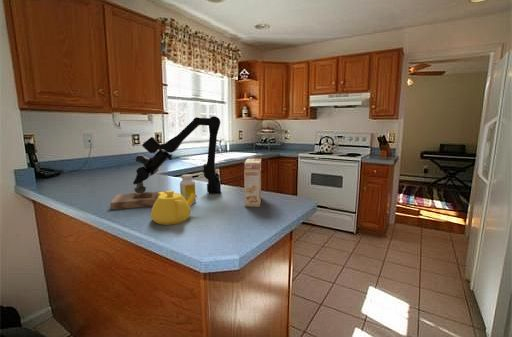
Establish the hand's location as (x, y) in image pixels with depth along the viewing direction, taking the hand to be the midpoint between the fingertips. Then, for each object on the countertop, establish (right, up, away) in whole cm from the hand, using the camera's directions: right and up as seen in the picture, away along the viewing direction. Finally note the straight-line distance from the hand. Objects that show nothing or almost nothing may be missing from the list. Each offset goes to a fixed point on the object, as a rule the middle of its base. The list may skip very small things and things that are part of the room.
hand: (137, 181), depth 134 cm
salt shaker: (+1, -7, +1) cm, 7 cm away
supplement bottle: (+29, -9, -12) cm, 33 cm away
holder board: (+9, -9, -12) cm, 17 cm away
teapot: (+30, -13, -32) cm, 45 cm away
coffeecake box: (+59, -9, -11) cm, 61 cm away
